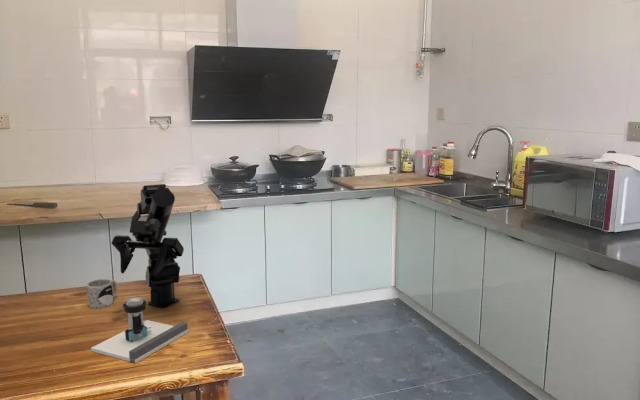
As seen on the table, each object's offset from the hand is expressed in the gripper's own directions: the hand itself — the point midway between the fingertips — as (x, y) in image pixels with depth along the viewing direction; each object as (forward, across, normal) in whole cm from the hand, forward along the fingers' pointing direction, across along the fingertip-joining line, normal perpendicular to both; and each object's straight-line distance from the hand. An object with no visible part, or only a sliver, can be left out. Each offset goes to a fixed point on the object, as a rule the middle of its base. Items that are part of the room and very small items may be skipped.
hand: (137, 273), depth 135 cm
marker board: (+17, +6, +2) cm, 18 cm away
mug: (+2, -18, +18) cm, 25 cm away
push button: (+16, +6, +2) cm, 17 cm away
